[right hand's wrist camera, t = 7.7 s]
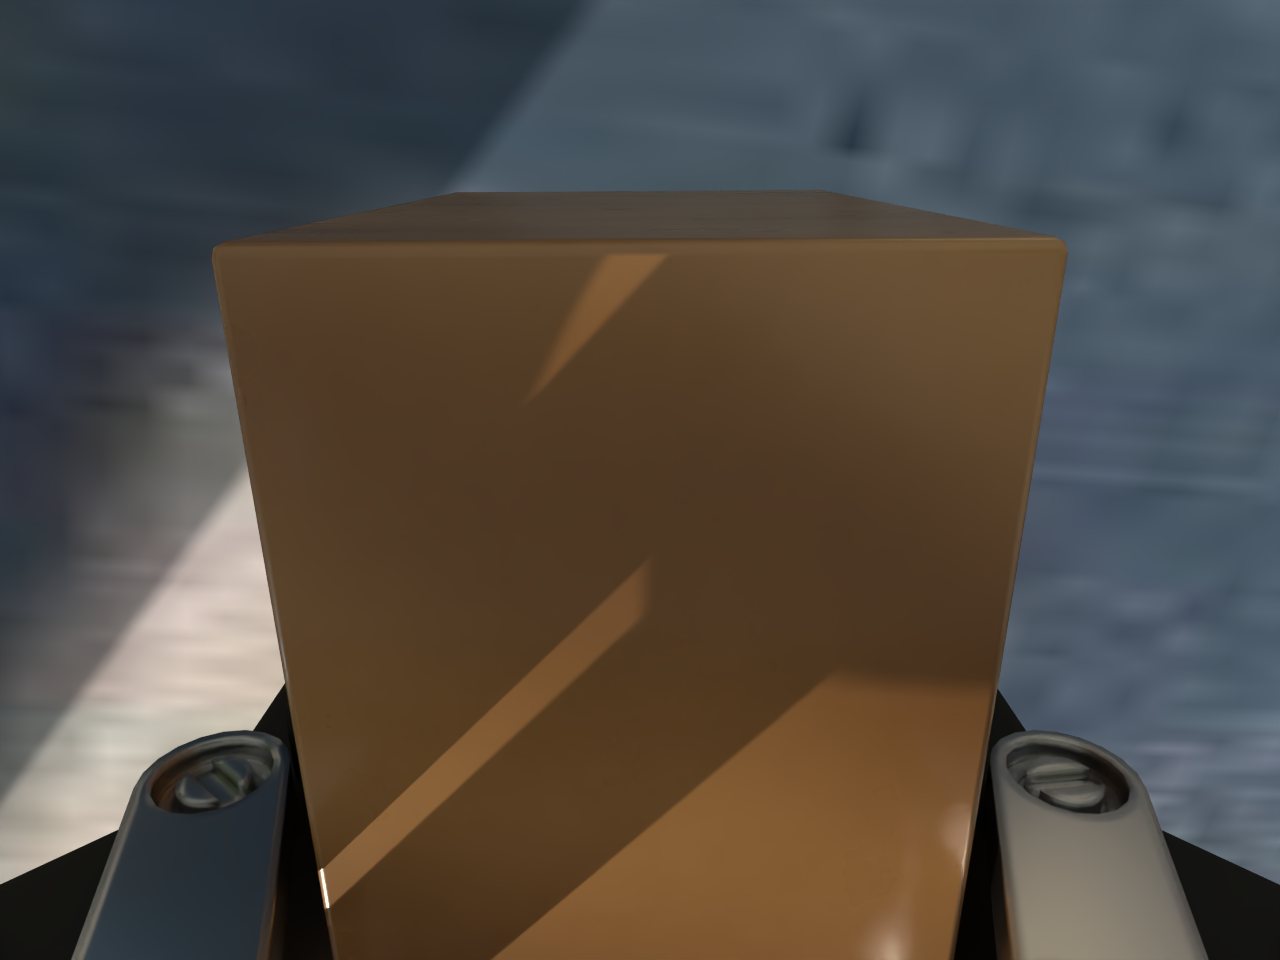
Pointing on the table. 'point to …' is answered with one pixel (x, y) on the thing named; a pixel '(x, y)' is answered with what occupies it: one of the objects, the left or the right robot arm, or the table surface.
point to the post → (641, 561)
